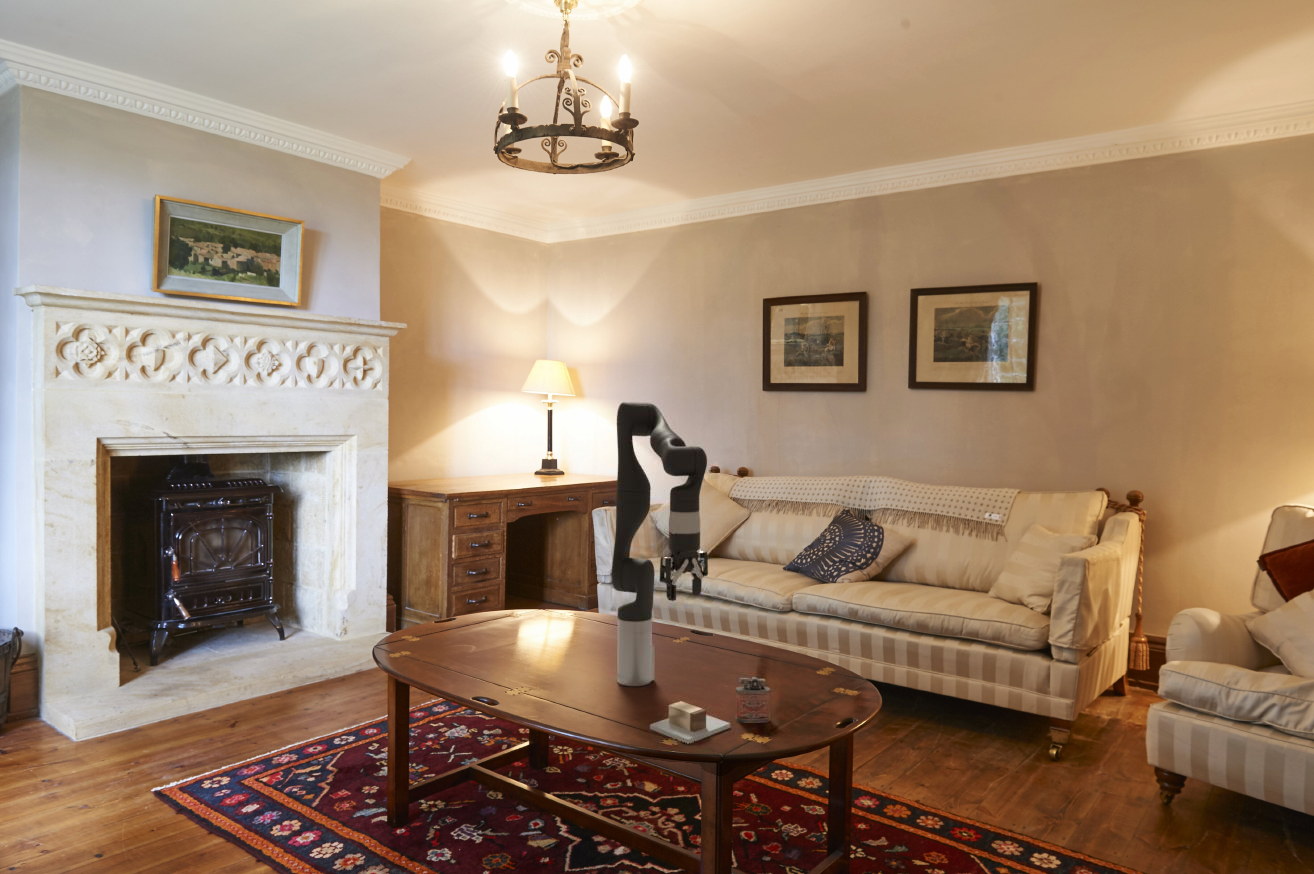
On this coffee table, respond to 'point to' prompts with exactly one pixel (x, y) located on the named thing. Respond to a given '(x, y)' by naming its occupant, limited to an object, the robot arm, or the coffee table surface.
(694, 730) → the block
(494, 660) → the coffee table surface
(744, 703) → the lighter
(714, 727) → the mat
